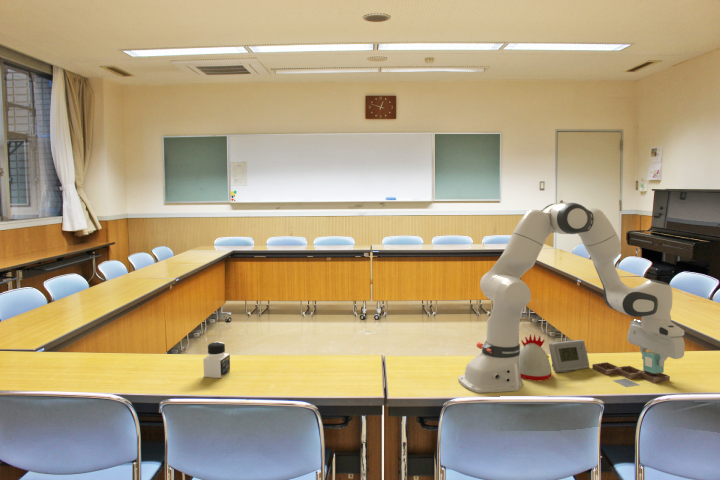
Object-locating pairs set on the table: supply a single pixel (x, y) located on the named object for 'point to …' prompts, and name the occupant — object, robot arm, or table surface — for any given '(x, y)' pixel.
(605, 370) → the box
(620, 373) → the box
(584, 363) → the digital clock
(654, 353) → the teal rectangular block
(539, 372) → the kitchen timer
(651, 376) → the box
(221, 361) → the medicine bottle
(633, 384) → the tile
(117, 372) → the table surface
